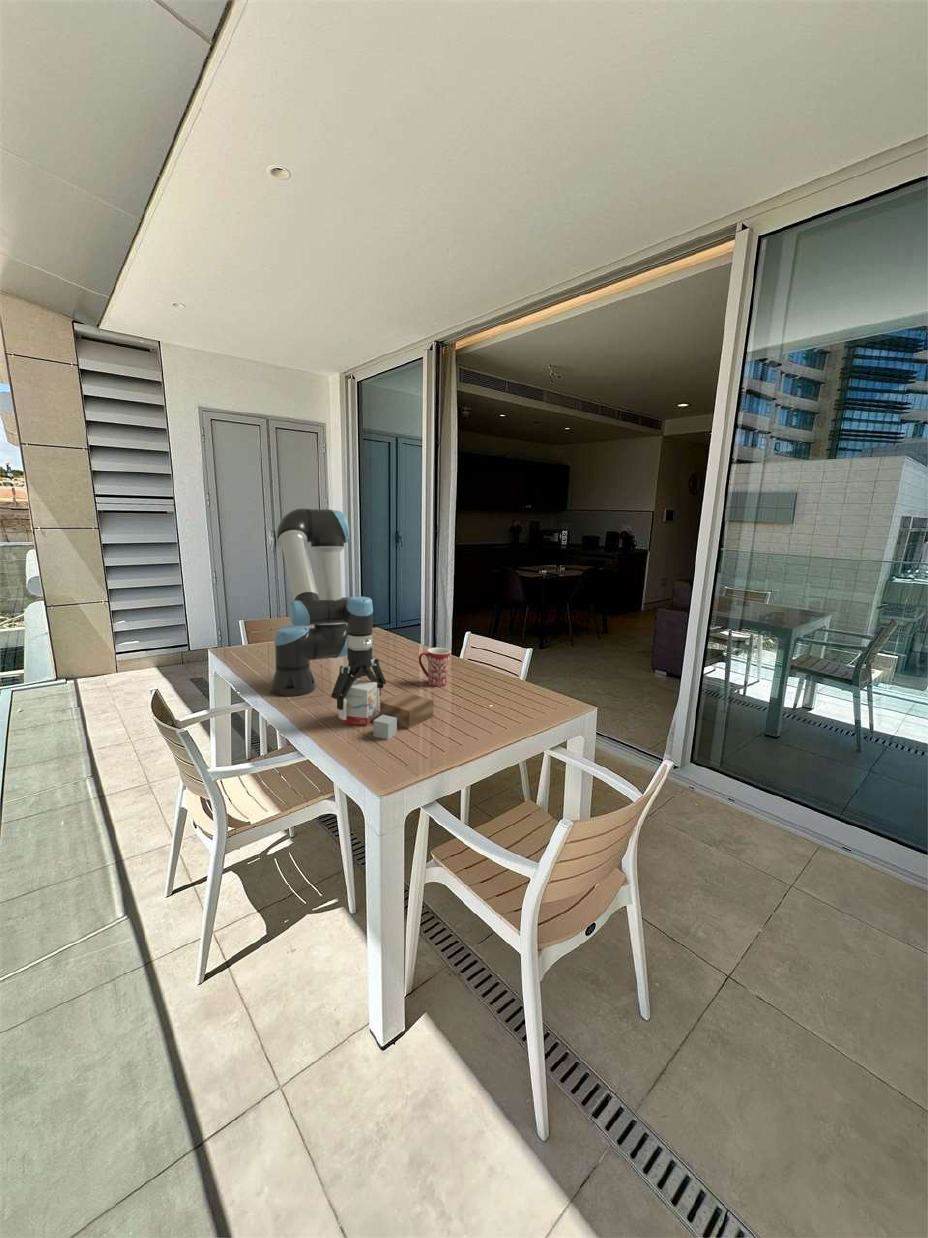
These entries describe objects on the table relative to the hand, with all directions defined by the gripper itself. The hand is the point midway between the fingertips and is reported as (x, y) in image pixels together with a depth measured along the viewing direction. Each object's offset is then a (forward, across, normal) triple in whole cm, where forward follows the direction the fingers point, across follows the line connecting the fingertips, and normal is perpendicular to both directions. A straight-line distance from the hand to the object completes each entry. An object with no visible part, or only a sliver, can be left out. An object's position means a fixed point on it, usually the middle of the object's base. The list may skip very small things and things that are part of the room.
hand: (359, 712), depth 157 cm
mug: (+2, +43, +6) cm, 43 cm away
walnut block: (+3, +11, -10) cm, 15 cm away
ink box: (+2, 0, 0) cm, 2 cm away
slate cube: (+2, -2, -14) cm, 14 cm away
